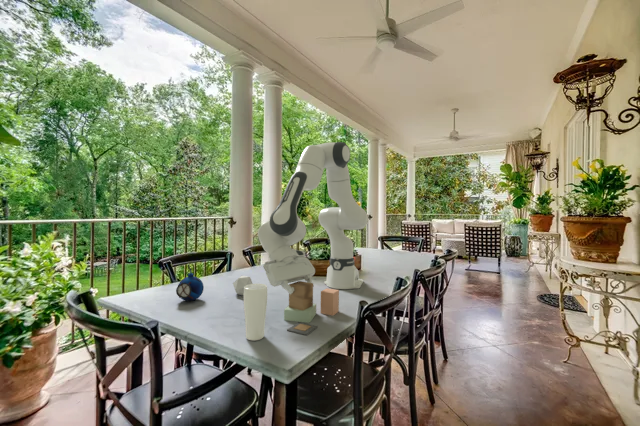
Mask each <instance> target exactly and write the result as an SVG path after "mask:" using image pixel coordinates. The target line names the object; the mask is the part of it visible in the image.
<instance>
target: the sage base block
mask: <svg viewBox="0 0 640 426" xmlns="http://www.w3.org/2000/svg"><path fill="white" fill-rule="evenodd" d="M283 311H284V312H283V320H284V321H290V322H297V323H298V322H301V323H306V324H309V323H311V322H312V320H313V318H314V317H315V316H316V314H317V303H314V302H313V306H312V307H309V308H307V309H305V310H303V311H302V310H298V309H294V308H290V307H289V305H287V306H286V307H285V308H284V310H283Z"/></svg>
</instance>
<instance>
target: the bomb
mask: <svg viewBox="0 0 640 426" xmlns="http://www.w3.org/2000/svg"><path fill="white" fill-rule="evenodd" d="M190 267H191V266H190V264H187V268H188V269H189V273H188V274H187V276H186V277H183V279H182V280H181V281H180V282H179V283H178V284H177V287H176V288H175V292H176V295H177V297H178V298H179V299H181V300H183V301H185V302H193V301H195V300H198V299H199V298H200V297H201V296H202V295H203V292H204V283H203V281H202V280H201V279H200V278H199V277H198V276H194V273H192V269H191V268H190Z"/></svg>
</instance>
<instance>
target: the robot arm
mask: <svg viewBox="0 0 640 426" xmlns="http://www.w3.org/2000/svg"><path fill="white" fill-rule="evenodd" d="M350 159H351V149H350V147H349V146H348V144H347V143H346V142H343V141H336V142H333V141H332V142H331V141H330V142H324V143H319V144H310V145H307V146H306V147H305V148H304V149H303V152H302V153H301V155H300V157H299V159H298V161H297V162H298V163H297V165H296V167H295V171H294V172H293V174H292V176H291V177H290V179H289V181H288V183H287V185H286V187H285V189H284V192H283V195H282V196H281V199H280V201H279V203H278V204H277V206H276V208H275V209H274V210H273V211H272V213H271V215H270V217H269V220H268V221H265V222H263V223H262V224H261V225H260V226H259V228H258V230H257V236H258V237H257V238H258V240H259V243H260V245H261V246H262V248H263V250H264V251H265V252H266V253H267V256H268V258H269V261H265V262H264V264H263V270H264V271H265V274H266V276H267V280H268V281H269V282H268V283H269V284H270V286H272V287H278V286H281V288H282V289H284V290H286V291H287V292H288V295H289V294H290V295H291V294H294V292H295V289H294V288H293V287H291V286H290V285H289V284H292V283H295V282H298V281H302V280H304V282H308V283H313V282H312V277H314V275H315V273H316V268H315V267H314V265H313V264H312V262H311V261H310V259H309V258H308V257H306V253H305V252H304V251H303V250H298V249H295V248H291V246H293V245H296V244H297V243H299V242H302V240H303V239H304V238H305V236H306V235H307V226H306V224H305V223H304V221H302V219H301V218H300V217H299V216H298V213H297V211H298V209H297V208H298V206H299V203H300V200H301V198H302V195H303V192H304V191H313V190H315V189H317V188H318V186H319V184H320V183H321V180H322V177H323V174H324V170H326V171H325V172H326V174H325V176H326V185H327V193H328V197H329V199H331V200H332V201H334V202H335V203H336V204H337V205H338V206H337V207H336V206H333V207H332V206H331V207H326V208H322V209H321V210H320V211H319V214H318V222H319V224H320V226H321V227H322V228H324V229H323V230H325V231H326V234H327V235H328V238H329V242H330V257H329V266H328V267H327V269H326V272H327V273H326V280H324V281H323V284H324V285H326V286H327V287H328V288H330V289H335V290H351V289H360V288H361V287H362V285H363V284H364V279H362V278H360V271H359V270H358V268H357V267H356V266H355V262H356V256H354V242H353V240H352V239H351V238H350V237H348V236H347V235H346V234H345V231H344V230H348V231H349V230H350V231H357V230H362V229H365V227H366V226H367V224H368V221H369V217H368V214H367V211H366V210H365V209H364V208H362V207H361V206H360V205H359V204H358V203H357V201H356V200H355V197H354V196H353V192H352V187H351V177H350V172H349V171H350V170H349V166H348V164H349V161H350ZM313 288H314V284H313Z"/></svg>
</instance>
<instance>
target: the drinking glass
mask: <svg viewBox="0 0 640 426" xmlns="http://www.w3.org/2000/svg"><path fill="white" fill-rule="evenodd" d="M267 306H268V286H267V284H264V283H253V284H249V285H246V286H245V287H244V296H243V309H244V312H243V313H244V324H245V339H247V340H249V341H253V342H254V341H255V342H256V341H259V340H262V339H263V338H264V337H265V329H266V327H265V326H266V317H267V315H266V314H267V309H268V308H267Z"/></svg>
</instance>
